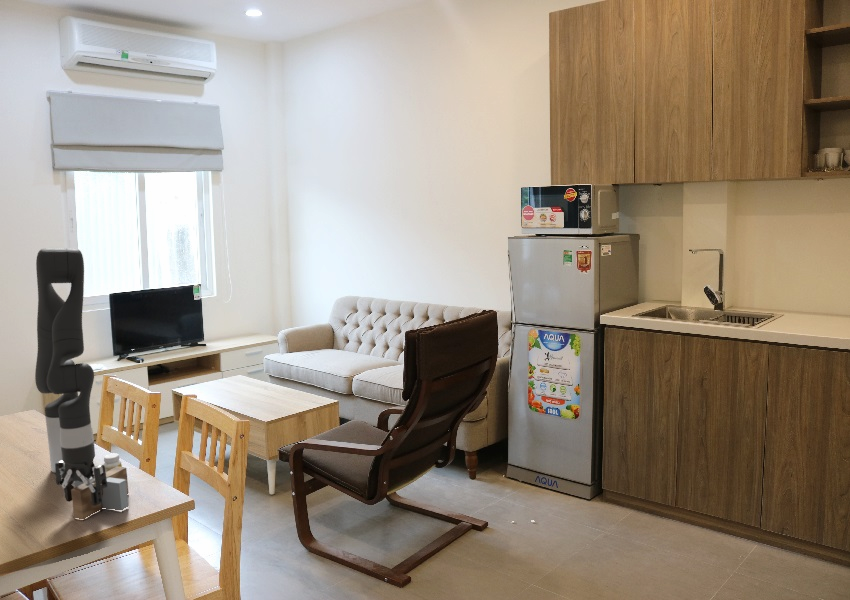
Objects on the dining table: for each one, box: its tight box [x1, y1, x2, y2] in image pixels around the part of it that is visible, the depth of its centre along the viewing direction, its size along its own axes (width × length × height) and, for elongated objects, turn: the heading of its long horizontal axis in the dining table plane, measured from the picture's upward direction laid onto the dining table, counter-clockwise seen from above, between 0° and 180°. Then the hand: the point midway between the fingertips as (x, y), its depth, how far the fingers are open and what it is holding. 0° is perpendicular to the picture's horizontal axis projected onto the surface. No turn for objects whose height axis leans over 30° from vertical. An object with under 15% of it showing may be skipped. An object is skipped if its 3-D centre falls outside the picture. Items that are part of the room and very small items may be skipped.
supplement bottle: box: [102, 452, 123, 472], centre depth 205 cm, size 5×5×8 cm
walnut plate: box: [71, 466, 130, 519], centre depth 190 cm, size 16×3×8 cm, turn 160°
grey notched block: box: [73, 477, 129, 510], centre depth 190 cm, size 15×2×8 cm, turn 71°
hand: (83, 502), depth 184 cm, fingers open, 8 cm apart
